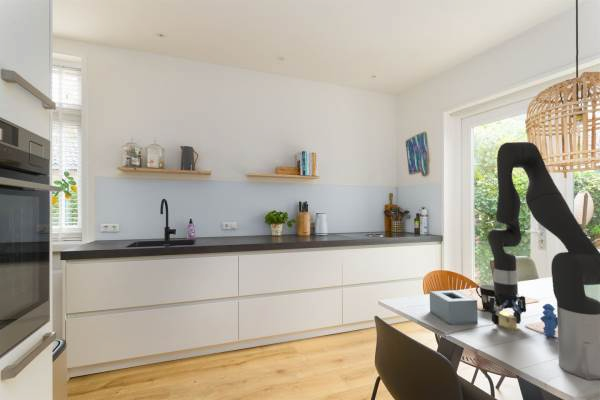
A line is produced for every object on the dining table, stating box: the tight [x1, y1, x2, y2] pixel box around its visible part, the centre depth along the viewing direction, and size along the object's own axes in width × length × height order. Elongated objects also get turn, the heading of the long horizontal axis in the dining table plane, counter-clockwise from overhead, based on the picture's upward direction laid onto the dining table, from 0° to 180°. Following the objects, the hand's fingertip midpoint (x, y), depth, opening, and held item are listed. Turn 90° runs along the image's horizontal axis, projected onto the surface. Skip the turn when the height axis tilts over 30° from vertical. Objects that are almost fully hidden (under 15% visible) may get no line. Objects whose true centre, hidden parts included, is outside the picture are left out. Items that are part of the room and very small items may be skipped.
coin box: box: [429, 289, 479, 325], centre depth 123 cm, size 14×12×9 cm
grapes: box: [540, 303, 558, 338], centre depth 103 cm, size 12×7×12 cm, turn 142°
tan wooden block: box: [498, 310, 518, 332], centre depth 112 cm, size 6×3×5 cm, turn 5°
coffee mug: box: [475, 284, 500, 311], centre depth 132 cm, size 12×9×10 cm
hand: (506, 323), depth 112 cm, fingers open, 8 cm apart
